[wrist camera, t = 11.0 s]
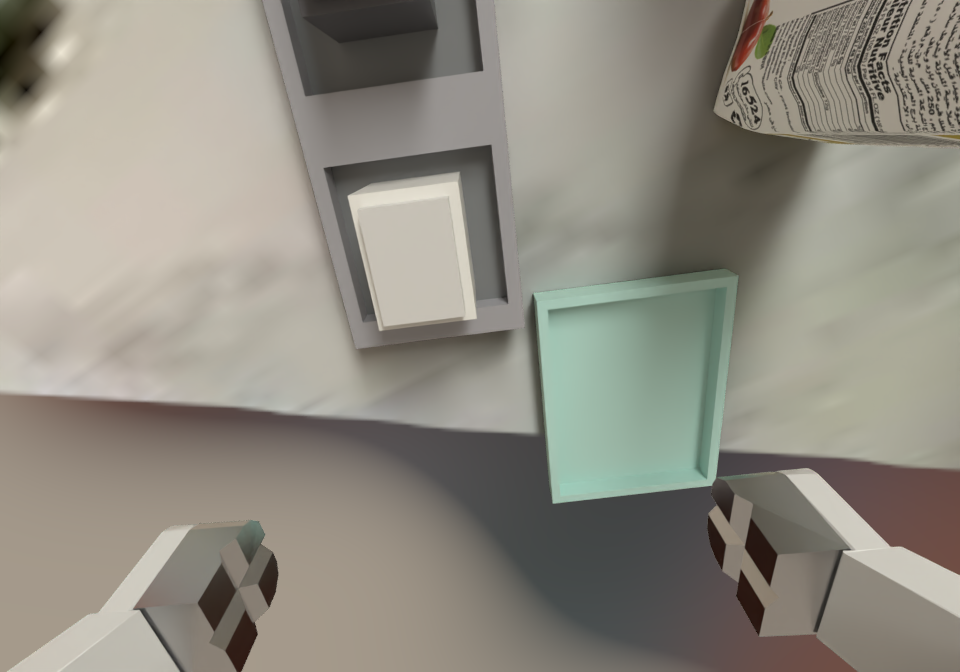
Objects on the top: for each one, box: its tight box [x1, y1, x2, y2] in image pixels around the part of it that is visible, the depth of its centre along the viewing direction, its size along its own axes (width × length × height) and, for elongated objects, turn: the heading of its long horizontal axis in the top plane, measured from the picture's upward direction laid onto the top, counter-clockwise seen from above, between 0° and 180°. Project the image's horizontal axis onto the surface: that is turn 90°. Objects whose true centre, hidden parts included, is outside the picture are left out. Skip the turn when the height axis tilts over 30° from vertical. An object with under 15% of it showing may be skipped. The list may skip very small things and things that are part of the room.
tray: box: [533, 269, 739, 504], centre depth 30 cm, size 12×16×2 cm
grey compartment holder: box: [262, 0, 525, 349], centre depth 19 cm, size 10×24×8 cm, turn 7°
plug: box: [348, 172, 477, 331], centre depth 21 cm, size 4×6×6 cm
